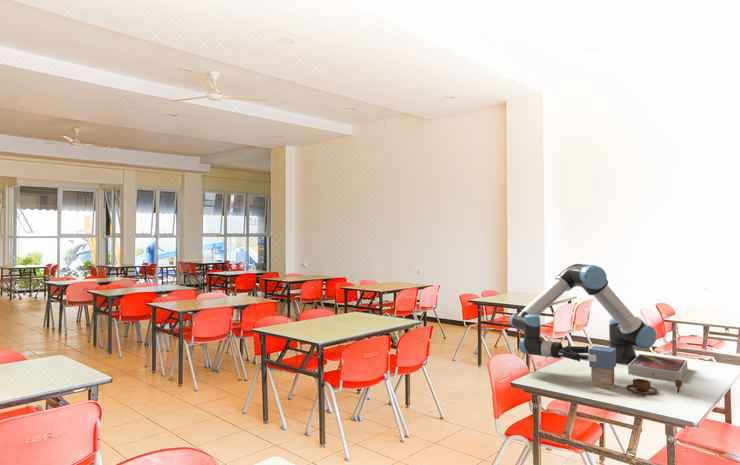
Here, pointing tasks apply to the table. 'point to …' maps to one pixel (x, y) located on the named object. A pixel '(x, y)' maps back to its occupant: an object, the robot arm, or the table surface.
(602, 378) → the box
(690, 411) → the table surface
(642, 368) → the product packaging
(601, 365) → the blue cube
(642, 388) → the place setting
